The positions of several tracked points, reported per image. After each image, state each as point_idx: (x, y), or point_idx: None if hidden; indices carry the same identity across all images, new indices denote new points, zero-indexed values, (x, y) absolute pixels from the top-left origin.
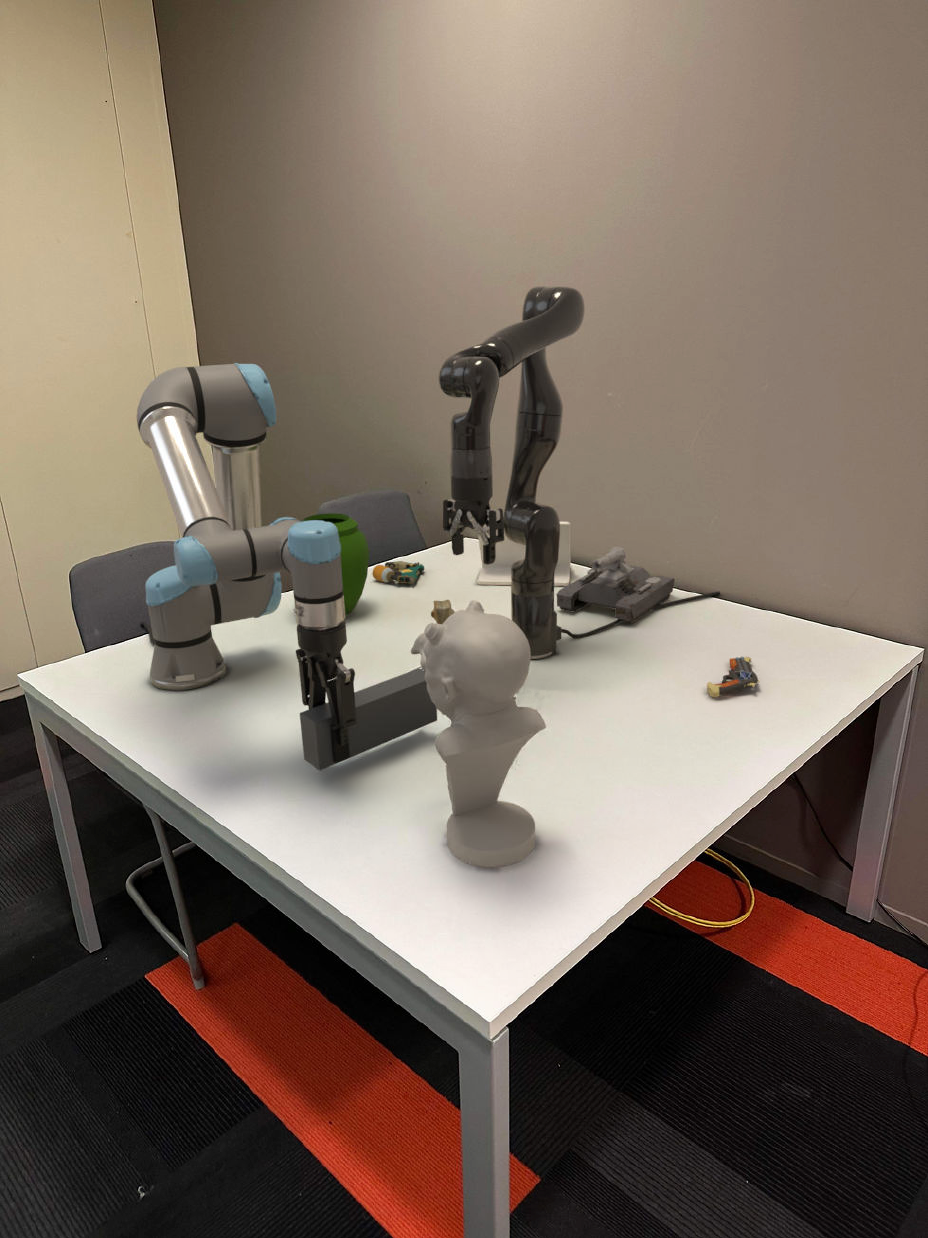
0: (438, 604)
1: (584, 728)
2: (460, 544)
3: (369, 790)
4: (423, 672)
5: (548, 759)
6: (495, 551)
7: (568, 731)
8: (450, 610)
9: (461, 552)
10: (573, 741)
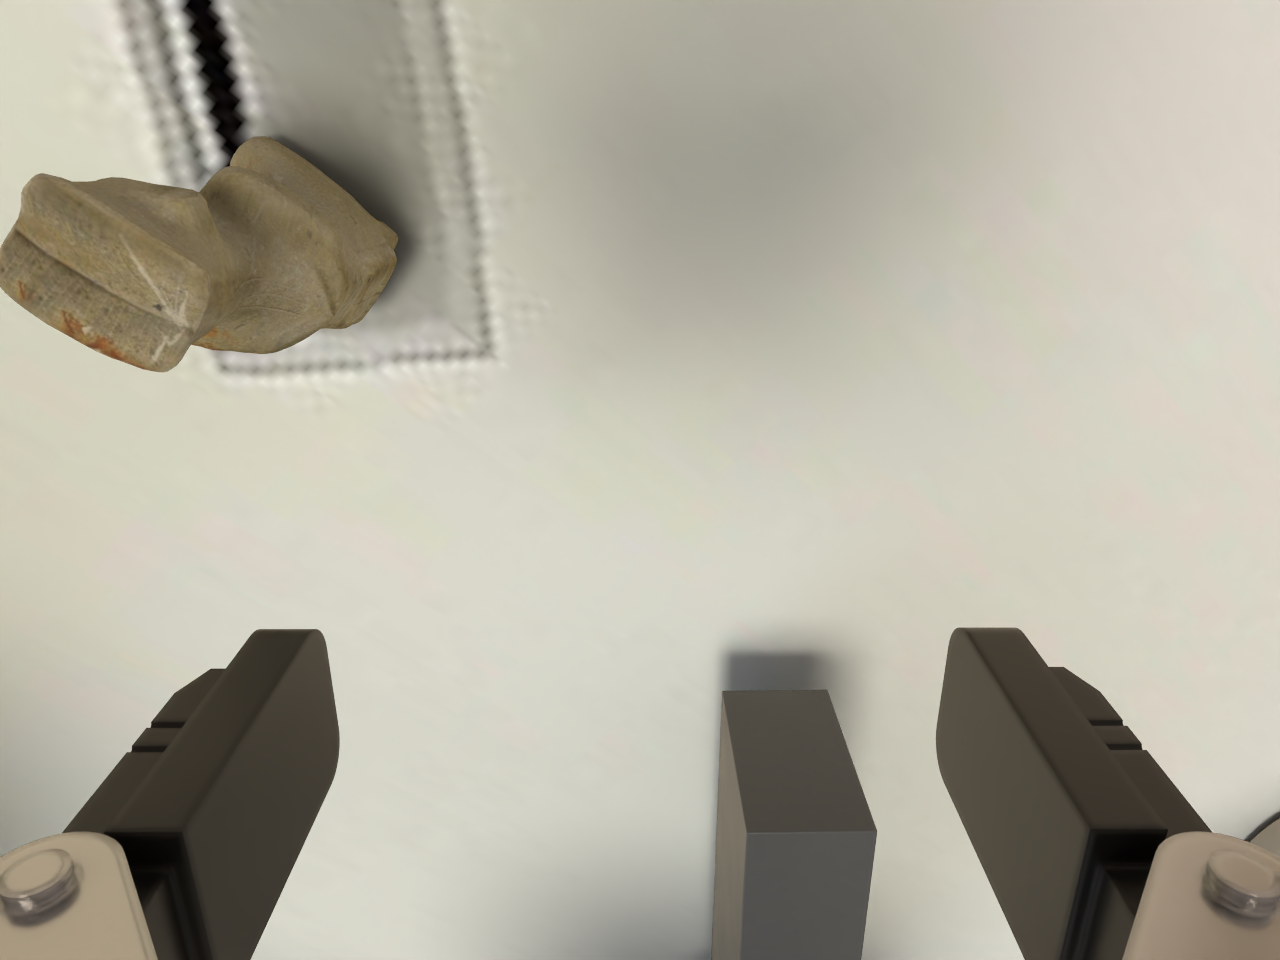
0: (119, 332)
1: (1254, 188)
2: (274, 772)
3: (892, 941)
4: (799, 842)
5: (1251, 485)
6: (1156, 764)
7: (1206, 262)
8: (204, 261)
9: (320, 671)
10: (1268, 314)
